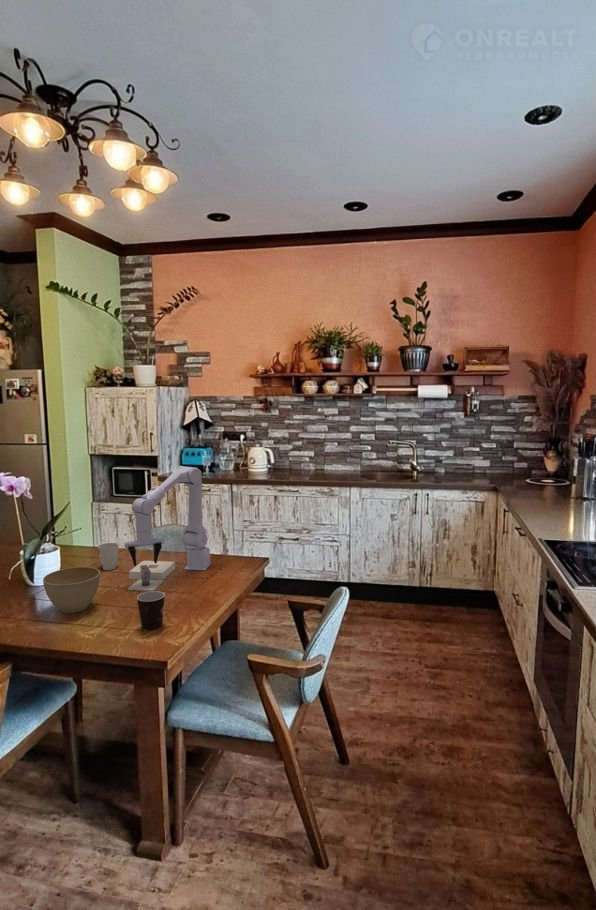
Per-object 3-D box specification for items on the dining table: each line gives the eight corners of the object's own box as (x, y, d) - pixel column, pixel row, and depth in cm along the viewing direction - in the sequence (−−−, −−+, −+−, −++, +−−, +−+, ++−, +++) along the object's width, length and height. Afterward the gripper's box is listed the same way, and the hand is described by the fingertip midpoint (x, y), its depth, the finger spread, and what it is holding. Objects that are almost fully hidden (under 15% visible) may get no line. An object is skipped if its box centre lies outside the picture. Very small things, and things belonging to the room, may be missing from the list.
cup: (106, 564, 234) (105, 542, 233) (123, 565, 232) (122, 543, 231) (95, 570, 226) (94, 547, 225) (112, 572, 224) (111, 548, 223)
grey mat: (163, 582, 212) (163, 580, 212) (153, 591, 203) (153, 589, 203) (139, 580, 214) (139, 579, 214) (127, 590, 204) (127, 588, 204)
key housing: (175, 568, 228) (175, 561, 228) (162, 580, 215) (162, 572, 214) (143, 567, 230) (143, 560, 230) (129, 578, 216) (129, 571, 216)
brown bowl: (76, 595, 199) (75, 563, 197) (112, 604, 190) (111, 571, 189) (33, 613, 183) (31, 579, 181) (69, 624, 175) (67, 588, 173)
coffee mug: (149, 618, 179) (148, 589, 177) (171, 622, 175) (170, 593, 174) (125, 633, 168) (124, 602, 167) (148, 638, 165) (147, 606, 164)
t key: (151, 587, 205) (151, 570, 204) (143, 588, 204) (143, 572, 203) (147, 580, 212) (147, 564, 212) (140, 581, 211) (139, 565, 210)
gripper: (160, 525, 212) (162, 558, 214) (122, 529, 206) (124, 563, 208) (164, 529, 206) (165, 563, 208) (125, 533, 200) (126, 569, 201)
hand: (145, 564), depth 207 cm, fingers open, 7 cm apart
